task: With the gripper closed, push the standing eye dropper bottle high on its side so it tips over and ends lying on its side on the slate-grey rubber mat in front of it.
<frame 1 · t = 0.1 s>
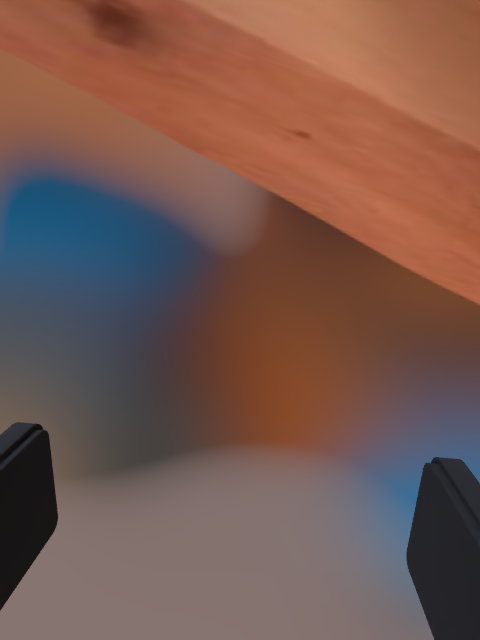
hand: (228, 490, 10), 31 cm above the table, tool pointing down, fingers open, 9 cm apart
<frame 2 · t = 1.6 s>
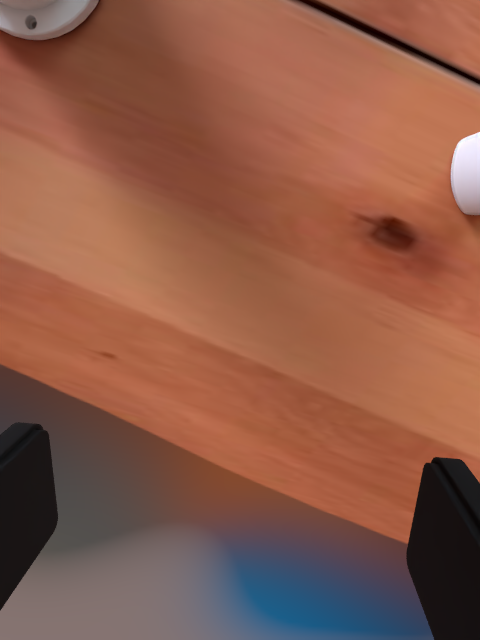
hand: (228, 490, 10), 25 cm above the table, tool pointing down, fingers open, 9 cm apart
eye dropper bottle: (471, 175, 30), on the table
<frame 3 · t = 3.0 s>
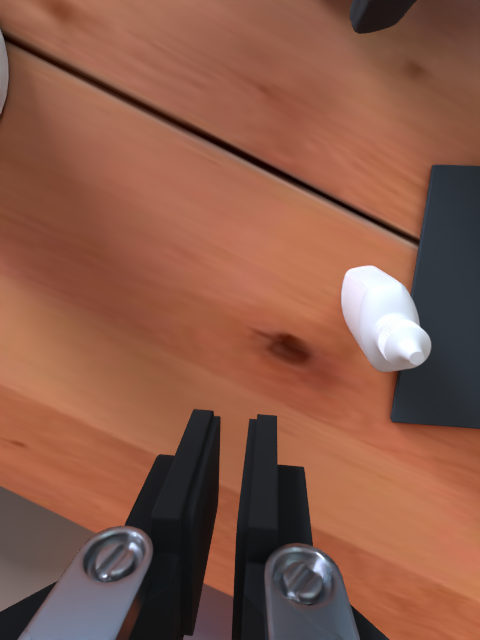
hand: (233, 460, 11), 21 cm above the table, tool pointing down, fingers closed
eye dropper bottle: (362, 300, 31), on the table
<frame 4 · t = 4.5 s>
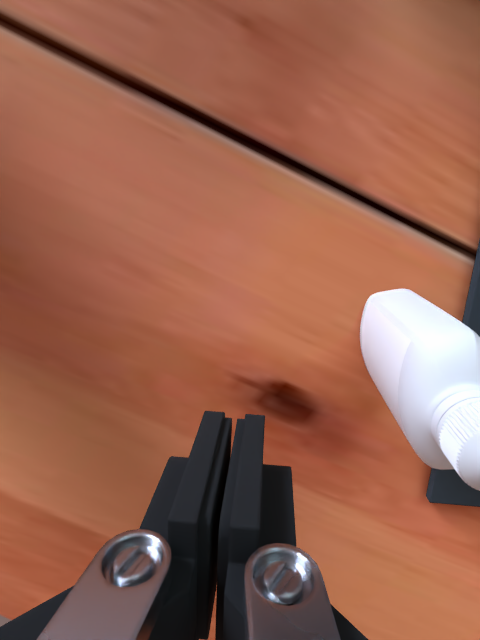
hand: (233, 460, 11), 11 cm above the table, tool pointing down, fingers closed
eye dropper bottle: (390, 336, 21), on the table
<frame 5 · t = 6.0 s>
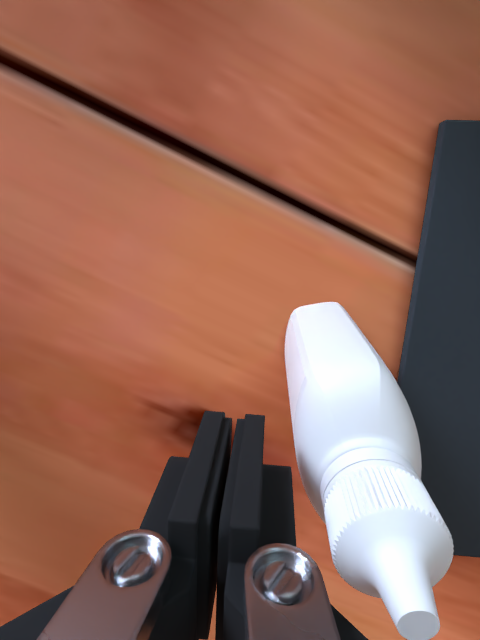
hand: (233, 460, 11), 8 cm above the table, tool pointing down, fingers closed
eye dropper bottle: (321, 357, 18), on the table, touching gripper
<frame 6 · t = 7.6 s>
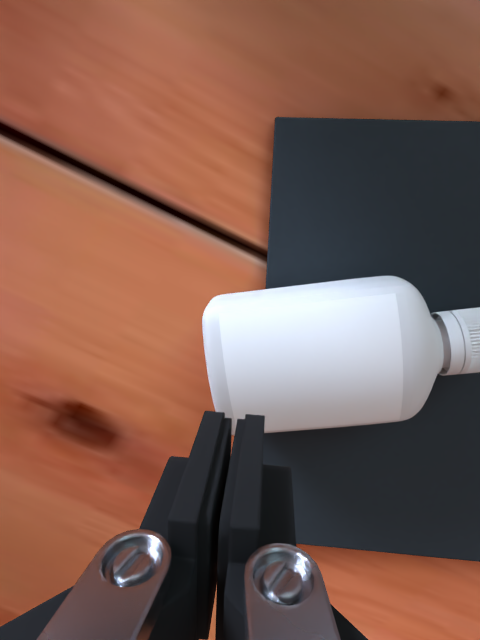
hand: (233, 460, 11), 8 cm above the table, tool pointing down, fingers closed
mat: (416, 367, 18), on the table
eye dropper bottle: (209, 366, 16), point 2 cm above the table, touching mat
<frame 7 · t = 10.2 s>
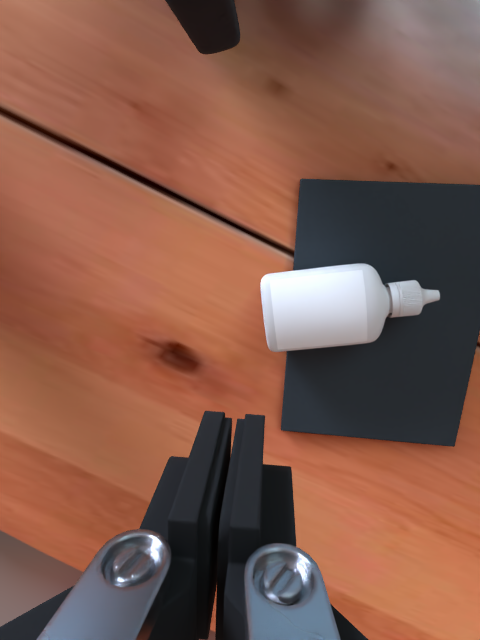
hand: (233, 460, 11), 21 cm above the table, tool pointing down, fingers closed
mat: (381, 320, 30), on the table
eye dropper bottle: (261, 313, 29), point 2 cm above the table, touching mat
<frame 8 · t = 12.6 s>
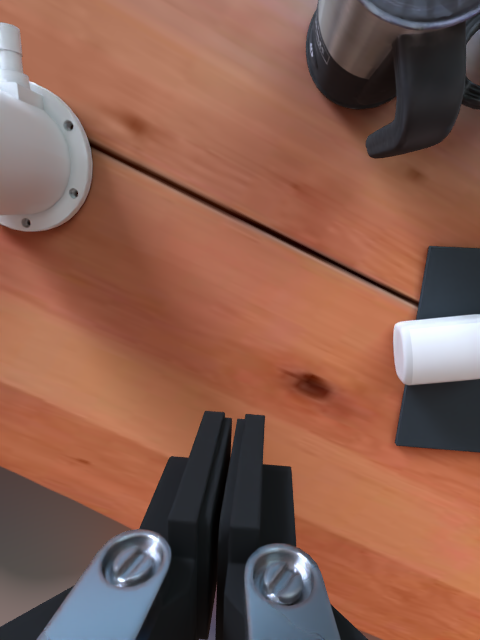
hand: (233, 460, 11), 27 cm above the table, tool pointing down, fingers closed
eye dropper bottle: (395, 354, 35), point 2 cm above the table, touching mat
milk frother: (415, 51, 31), on the table
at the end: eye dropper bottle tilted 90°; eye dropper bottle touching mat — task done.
